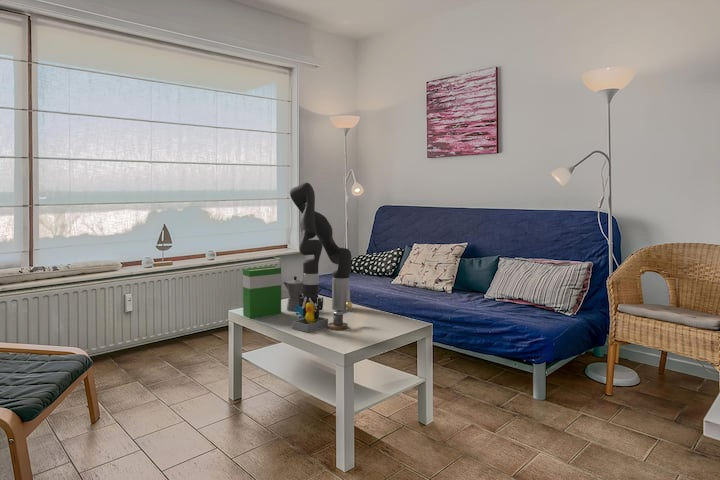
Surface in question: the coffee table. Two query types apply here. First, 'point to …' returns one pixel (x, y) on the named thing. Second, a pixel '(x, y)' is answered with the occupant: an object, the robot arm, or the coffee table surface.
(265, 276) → the green box
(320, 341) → the coffee table surface
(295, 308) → the gear
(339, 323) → the base
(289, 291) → the coffeepot
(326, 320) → the tray
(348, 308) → the crank
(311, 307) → the duckling
